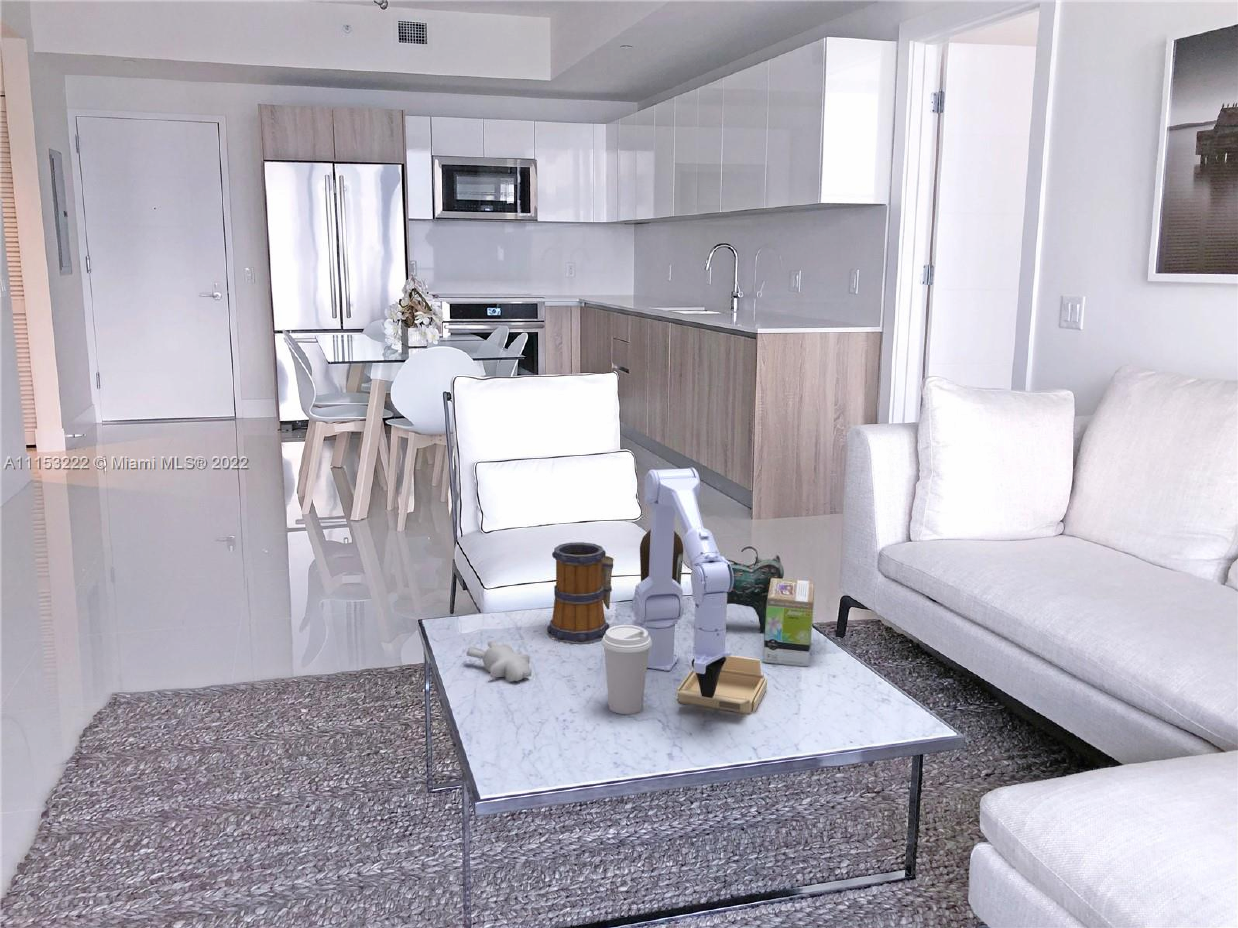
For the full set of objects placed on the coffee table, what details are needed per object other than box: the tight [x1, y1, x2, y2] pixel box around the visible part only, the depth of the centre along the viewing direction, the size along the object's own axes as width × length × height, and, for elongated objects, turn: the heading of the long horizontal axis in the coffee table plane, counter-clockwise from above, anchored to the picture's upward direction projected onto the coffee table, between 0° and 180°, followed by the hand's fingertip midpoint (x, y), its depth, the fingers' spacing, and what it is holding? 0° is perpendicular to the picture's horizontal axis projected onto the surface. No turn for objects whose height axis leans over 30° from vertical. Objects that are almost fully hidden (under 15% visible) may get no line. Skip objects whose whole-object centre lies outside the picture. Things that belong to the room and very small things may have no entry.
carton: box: [676, 667, 768, 715], centre depth 195 cm, size 15×13×3 cm
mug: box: [546, 541, 614, 645], centre depth 228 cm, size 19×14×20 cm
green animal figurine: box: [725, 546, 785, 634], centre depth 229 cm, size 20×6×20 cm, turn 82°
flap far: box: [722, 654, 762, 675], centre depth 199 cm, size 13×1×4 cm
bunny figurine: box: [465, 640, 533, 683], centre depth 205 cm, size 10×5×15 cm
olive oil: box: [639, 528, 684, 587], centre depth 243 cm, size 11×11×25 cm
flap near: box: [676, 690, 747, 704], centre depth 187 cm, size 13×1×4 cm
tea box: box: [762, 578, 815, 667], centre depth 217 cm, size 15×10×15 cm
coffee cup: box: [600, 624, 652, 715], centre depth 188 cm, size 10×10×15 cm
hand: (707, 695), depth 184 cm, fingers closed
